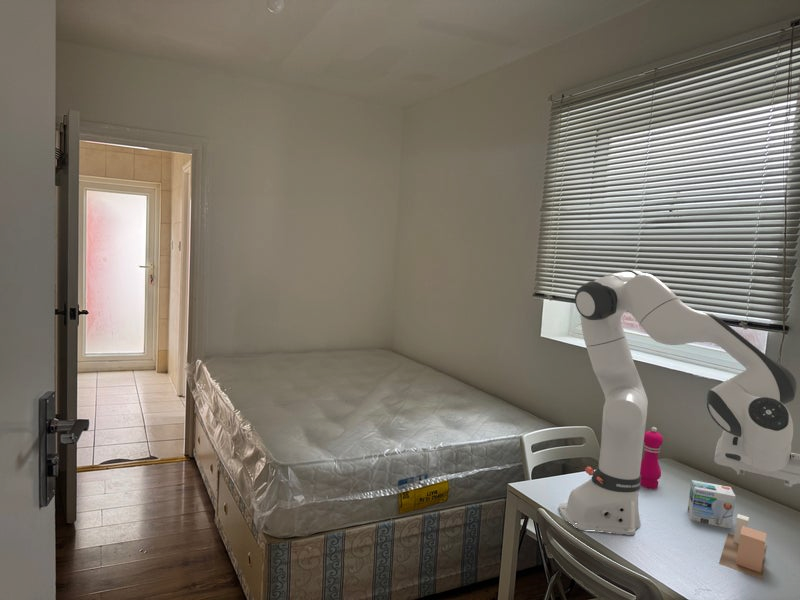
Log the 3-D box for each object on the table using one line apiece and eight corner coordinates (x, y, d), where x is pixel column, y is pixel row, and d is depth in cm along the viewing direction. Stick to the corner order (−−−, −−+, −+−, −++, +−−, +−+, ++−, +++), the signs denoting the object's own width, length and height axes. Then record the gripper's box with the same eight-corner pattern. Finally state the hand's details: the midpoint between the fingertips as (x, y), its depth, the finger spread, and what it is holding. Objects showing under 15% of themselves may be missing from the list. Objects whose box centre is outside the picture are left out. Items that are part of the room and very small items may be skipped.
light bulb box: (689, 523, 156) (694, 488, 154) (686, 513, 162) (690, 478, 161) (731, 532, 152) (736, 496, 151) (726, 521, 158) (731, 486, 157)
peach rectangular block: (760, 572, 131) (765, 541, 130) (735, 563, 134) (740, 533, 134) (762, 563, 135) (766, 533, 135) (738, 554, 139) (742, 525, 138)
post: (744, 545, 143) (748, 520, 143) (733, 541, 145) (736, 517, 144) (745, 541, 145) (749, 517, 145) (734, 538, 147) (737, 513, 146)
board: (761, 582, 129) (763, 565, 128) (718, 567, 134) (720, 550, 134) (766, 549, 144) (768, 533, 144) (727, 536, 149) (729, 521, 149)
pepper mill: (663, 490, 176) (670, 431, 174) (641, 489, 176) (648, 430, 174) (653, 480, 184) (660, 424, 181) (632, 479, 184) (638, 422, 181)
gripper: (826, 449, 115) (819, 478, 123) (716, 427, 127) (717, 455, 136) (824, 475, 112) (818, 503, 120) (711, 450, 124) (713, 477, 133)
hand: (763, 477), depth 128 cm, fingers open, 8 cm apart
